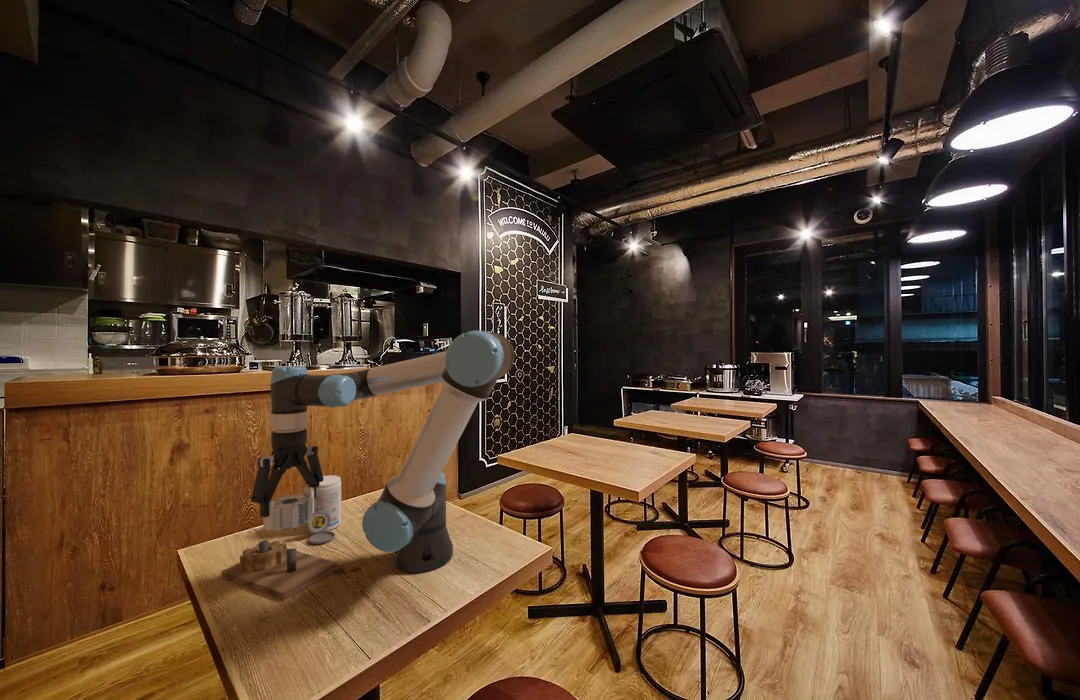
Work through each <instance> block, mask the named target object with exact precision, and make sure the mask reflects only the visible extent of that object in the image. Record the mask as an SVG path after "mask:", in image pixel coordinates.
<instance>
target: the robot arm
mask: <svg viewBox="0 0 1080 700" xmlns="http://www.w3.org/2000/svg"><path fill="white" fill-rule="evenodd" d="M514 362H515V350H514V347H513V345H512V344H511V342H510V340H509V339H508V338H507V337H505V336H504V335H502V334H500V333H498V332H491V331H490V332H489V331H485V330H470V331H468V332H464V333H462V334H461V333H460V335H458V336H457V337H455V338H454V339H453V340H452V341H451V342H450V344H449V345H448V347H447V349H446V351H442V352H441V351H440V352H438V353H432V354H429V355H423V356H420V357H416V358H411V359H407V360H402V361H398V362H394V363H389V364H385V365H384V364H383V365H380V366H379V365H378V366H375V367H372V368H366V369H362V370H356V371H351V372H343V373H333V374H308V369H307V367H306V366H305V365H304V366H302V365H282V366H276V367H274V368H273V369H272V370H271V376H270V384H269V387H270V402H271V404H270V405H271V407H270V408H271V409H270V415H271V417H270V421H271V422H270V423H271V426H270V427H271V430H272V432H271V433H270V438H271V439H270V442H271V443H270V444H271V448H272V449H271V450H272V452H271V454H270V455H268V456H267V457H266V456H265V457H262V456H261V457H259V458H258V459H257V465H258V469H257V473H256V478H255V481H254V485H253V489H252V493H251V497H250V501H251V502H252V503H256V504H259V508H260V509H259V510H260V511H259V513H260V514H259V515H260V517H262V518H263V524H262V525H263V530H266V531H267V530H268V531H271V532H272V531H275V530H274V502H273V501H271V500H273V496H274V494H275V492H276V490H277V488H278V485H279V483H280V481H281V479H282V477H283V475H284V474H285V473H286V471H287V470H290V469H291V468H296V469H297V471H298V473H299V474H300V475H301V477H302V479H303V481H304V482H305V483H306V486H304V487H303V494H304V496H310V495H311V496H312V497H313V513H314V499H315V498H316V487H318V486H319V485H320V483H319V482H322V481H323V480H324V478H323V476H324V475H323V472H322V467H321V464H320V460H319V459H320V458H319V455H318V453H319V447H318V446H316V445H308V446H307V445H306V444H307V443H308V430H307V428H306V427H307V426H308V406H310V407H325V408H326V407H327V408H329V407H330V408H339V407H340V408H341V407H343V408H344V407H347V406H350V404H351V403H352V402H354V401H358V400H363V399H368V398H372V397H377V396H380V395H385V394H390V393H395V392H399V391H404V390H410V389H415V388H419V387H423V386H430V385H432V384H437V383H442V384H443V387H442V388H441V391H440V393H439V395H438V397H437V399H436V401H435V402H434V404H433V406H432V408H431V411H430V412H429V415H428V416H427V418H426V420H425V422H424V423H423V426H422V428H421V430H420V431H419V434H418V436H417V438H416V440H415V442H414V444H413V445H412V448H411V450H410V451H409V454H408V456H407V458H406V460H405V462H404V463H403V465H402V467H401V469H400V471H399V474H395V475H393V476H391V477H390V478H389V479H388V480H387V482H386V484H385V486H384V488H383V489H382V492H381V494H380V496H379V498H378V500H377V501H376V502H373V503H371V505H370V506H369V507H368V508H367V509H366V510H365V512H364V514H363V517H362V521H361V522H362V523H361V526H362V532H364V534H365V536H364V537H365V538H366V539H367V541H368V542H369V544H370V545H372V547H374V548H375V549H377V550H379V551H381V552H384V553H393V564H394V566H395V568H396V569H398V570H400V571H403V572H407V573H425V572H429V571H434V570H437V569H439V568H442V567H443V566H445V565H446V564H447V562H448V561H449V560H450V559H452V558H453V556H454V555H453V554H454V545H453V541H452V540H451V538H450V534H449V531H448V529H447V481H446V474H445V473H444V472H443V471H444V470H445V468H446V465H447V463H448V462H449V460H450V457H451V456H452V454H453V452H454V451H455V448H456V446H457V444H458V442H459V440H460V438H461V436H462V434H463V433H464V431H465V429H466V427H467V425H468V424H469V421H470V419H471V417H472V415H473V413H474V412H475V409H476V407H477V405H478V404H479V403H480V402H484V401H486V400H488V399H489V397H490V395H491V394H492V391H493V389H494V387H495V386H496V384H497V381H498V380H499V379H500V378H502V377H504V376H506V375H507V374H508V372H510V370H511V369H512V367H513V366H514ZM305 456H306V458H307V461H306V459H305ZM307 462H308V463H307ZM308 464H309V465H308ZM270 472H271V473H270ZM307 485H308V486H307ZM452 555H453V556H452ZM451 557H452V558H451ZM450 561H451V560H450ZM450 561H449V562H450ZM449 562H448V563H449ZM444 564H445V565H444Z"/></svg>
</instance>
